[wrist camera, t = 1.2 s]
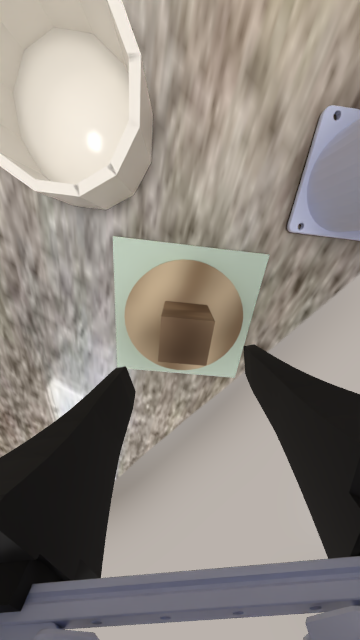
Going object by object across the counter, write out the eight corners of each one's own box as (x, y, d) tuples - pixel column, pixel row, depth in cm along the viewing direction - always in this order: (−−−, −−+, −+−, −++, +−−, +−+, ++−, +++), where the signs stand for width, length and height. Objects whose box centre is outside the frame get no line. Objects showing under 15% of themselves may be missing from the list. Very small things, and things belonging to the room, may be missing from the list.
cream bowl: (156, 39, 12) (143, -76, 7) (149, 215, 15) (138, 204, 11) (-5, 12, 11) (-114, -126, 7) (29, 200, 15) (-28, 183, 11)
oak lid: (252, 266, 17) (281, 275, 12) (226, 368, 21) (240, 403, 16) (126, 252, 16) (105, 255, 11) (127, 360, 20) (112, 393, 16)
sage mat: (266, 254, 17) (269, 254, 16) (233, 374, 22) (234, 377, 21) (115, 236, 16) (112, 236, 16) (118, 364, 21) (117, 367, 21)
